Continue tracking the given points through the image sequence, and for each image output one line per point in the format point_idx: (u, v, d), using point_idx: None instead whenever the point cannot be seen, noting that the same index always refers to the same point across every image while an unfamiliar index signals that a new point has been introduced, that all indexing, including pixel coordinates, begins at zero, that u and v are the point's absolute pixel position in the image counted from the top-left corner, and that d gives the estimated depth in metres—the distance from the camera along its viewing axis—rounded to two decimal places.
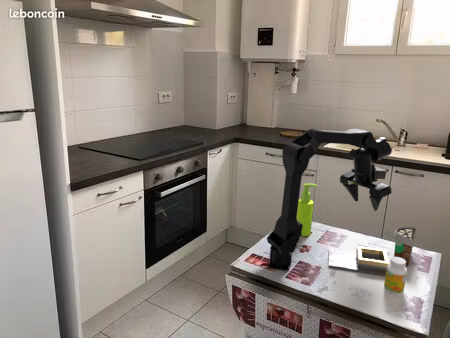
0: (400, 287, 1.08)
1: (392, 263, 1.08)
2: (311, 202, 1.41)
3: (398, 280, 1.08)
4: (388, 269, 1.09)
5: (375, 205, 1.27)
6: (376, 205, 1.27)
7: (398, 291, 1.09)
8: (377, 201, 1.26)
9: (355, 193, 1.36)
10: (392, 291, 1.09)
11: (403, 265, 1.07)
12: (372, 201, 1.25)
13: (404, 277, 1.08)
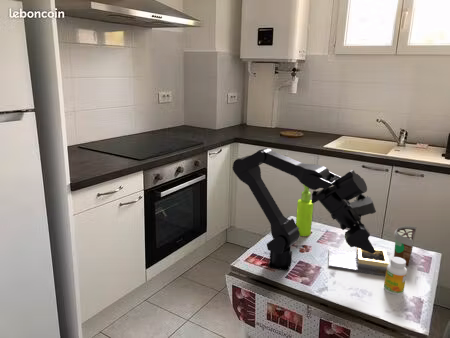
0: (400, 287, 1.08)
1: (392, 263, 1.08)
2: None
3: (398, 280, 1.08)
4: (388, 269, 1.09)
5: (365, 249, 1.04)
6: (367, 248, 1.04)
7: (398, 291, 1.09)
8: (365, 244, 1.04)
9: None
10: (392, 291, 1.09)
11: (403, 265, 1.07)
12: None
13: (404, 277, 1.08)
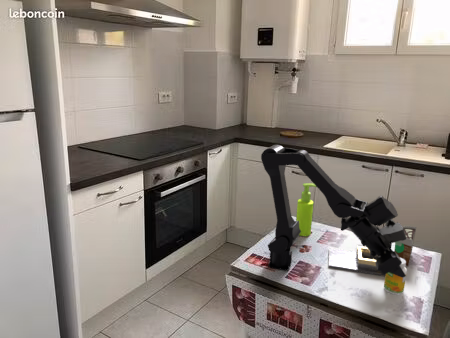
0: (400, 287, 1.08)
1: None
2: (311, 202, 1.41)
3: (397, 280, 1.08)
4: None
5: (395, 273, 1.05)
6: (397, 272, 1.05)
7: (398, 291, 1.09)
8: (395, 268, 1.05)
9: None
10: (392, 291, 1.09)
11: (403, 265, 1.07)
12: None
13: (404, 277, 1.08)
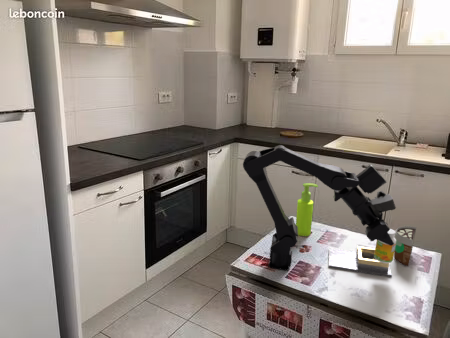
0: (389, 256, 1.13)
1: None
2: (311, 202, 1.41)
3: (387, 249, 1.12)
4: None
5: (384, 241, 1.11)
6: (386, 240, 1.11)
7: (387, 260, 1.13)
8: (384, 236, 1.10)
9: None
10: (381, 260, 1.14)
11: (392, 235, 1.12)
12: None
13: (393, 247, 1.13)
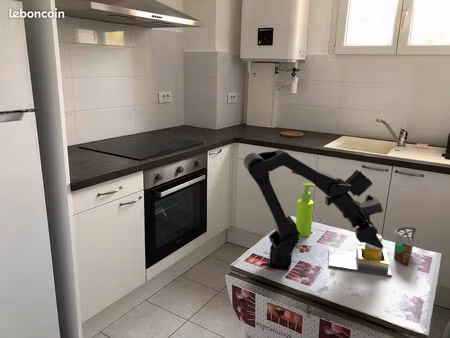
0: None
1: None
2: (311, 202, 1.41)
3: (374, 254, 1.20)
4: (366, 244, 1.22)
5: (374, 244, 1.17)
6: (376, 244, 1.16)
7: None
8: (373, 240, 1.16)
9: None
10: None
11: None
12: None
13: (380, 251, 1.20)
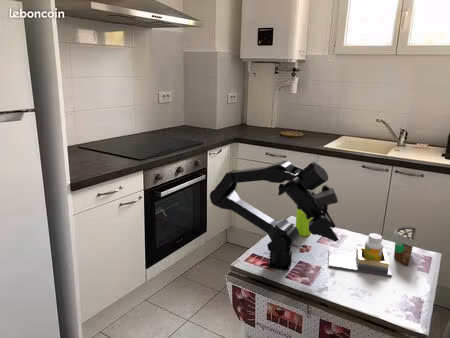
0: None
1: (370, 238, 1.21)
2: None
3: (374, 254, 1.20)
4: (366, 244, 1.22)
5: (328, 237, 1.10)
6: (330, 236, 1.10)
7: None
8: (327, 232, 1.10)
9: None
10: None
11: (379, 240, 1.20)
12: None
13: (380, 251, 1.20)
